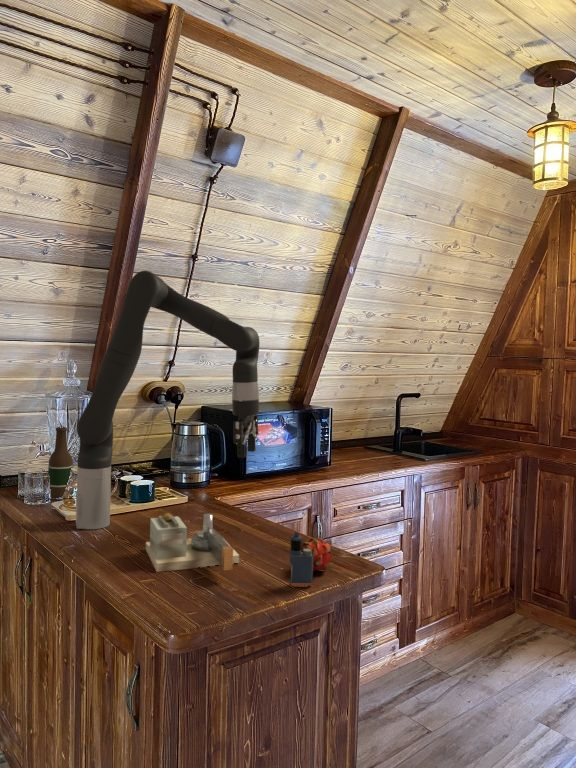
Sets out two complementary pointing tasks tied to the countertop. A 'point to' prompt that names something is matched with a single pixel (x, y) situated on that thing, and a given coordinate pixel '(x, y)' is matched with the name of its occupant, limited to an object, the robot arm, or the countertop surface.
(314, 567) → the dragon fruit
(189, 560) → the stand
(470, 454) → the countertop surface
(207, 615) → the countertop surface
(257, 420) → the robot arm
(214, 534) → the cam capstan
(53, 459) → the beer bottle
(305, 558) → the vaping device
